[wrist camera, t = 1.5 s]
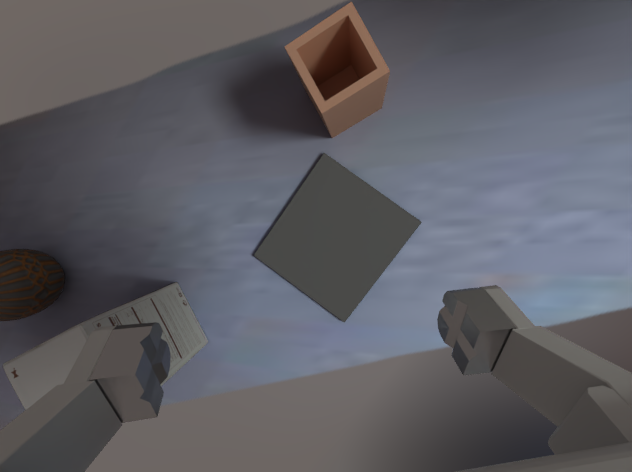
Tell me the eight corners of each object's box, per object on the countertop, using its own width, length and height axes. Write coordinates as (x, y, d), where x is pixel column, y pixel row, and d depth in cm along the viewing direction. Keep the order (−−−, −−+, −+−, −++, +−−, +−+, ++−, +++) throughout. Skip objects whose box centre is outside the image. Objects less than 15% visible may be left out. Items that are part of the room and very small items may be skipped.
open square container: (354, 57, 30) (351, 1, 22) (381, 108, 30) (390, 71, 22) (305, 89, 31) (284, 46, 23) (332, 138, 31) (321, 113, 23)
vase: (10, 271, 37) (-97, 291, 29) (48, 232, 36) (-50, 241, 27) (48, 319, 37) (-47, 354, 28) (88, 281, 36) (2, 306, 27)
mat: (324, 153, 31) (324, 152, 31) (420, 221, 31) (421, 222, 30) (255, 254, 33) (253, 255, 33) (344, 321, 33) (344, 322, 32)
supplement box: (154, 369, 36) (45, 456, 23) (123, 308, 36) (-5, 363, 23) (211, 342, 35) (128, 420, 22) (179, 279, 35) (77, 322, 22)
